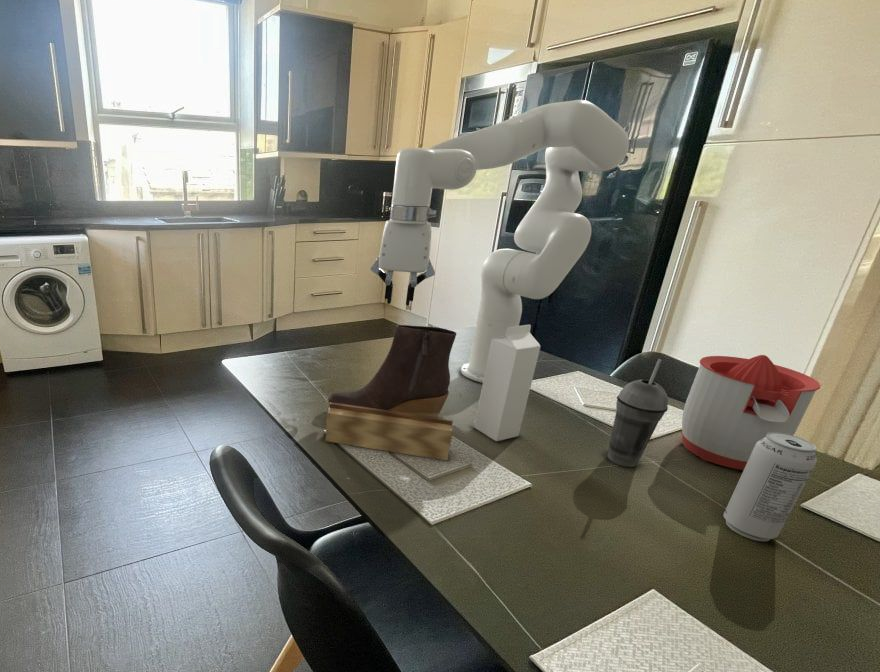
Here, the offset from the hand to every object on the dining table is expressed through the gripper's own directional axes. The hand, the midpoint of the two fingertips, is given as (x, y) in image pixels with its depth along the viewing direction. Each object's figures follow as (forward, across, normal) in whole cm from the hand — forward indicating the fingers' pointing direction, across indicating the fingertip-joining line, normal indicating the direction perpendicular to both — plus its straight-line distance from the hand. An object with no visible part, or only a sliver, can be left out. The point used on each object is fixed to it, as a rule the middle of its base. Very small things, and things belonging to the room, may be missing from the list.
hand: (398, 302), depth 105 cm
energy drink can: (+21, -54, +33) cm, 67 cm away
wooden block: (+21, -1, +26) cm, 33 cm away
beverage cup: (+21, -43, +17) cm, 51 cm away
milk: (+21, -22, +13) cm, 33 cm away
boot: (+21, 0, +13) cm, 25 cm away
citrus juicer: (+21, -62, +10) cm, 66 cm away
